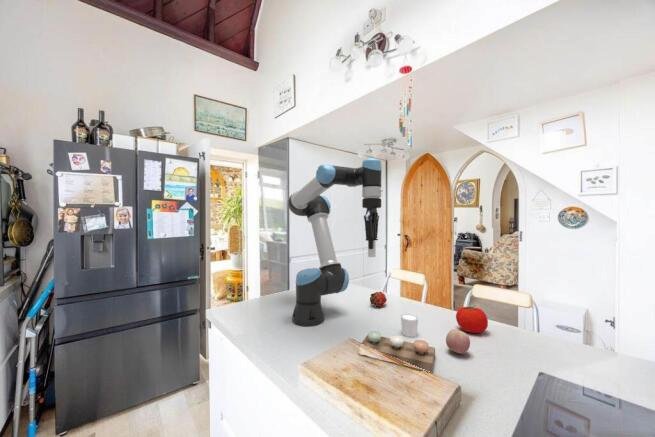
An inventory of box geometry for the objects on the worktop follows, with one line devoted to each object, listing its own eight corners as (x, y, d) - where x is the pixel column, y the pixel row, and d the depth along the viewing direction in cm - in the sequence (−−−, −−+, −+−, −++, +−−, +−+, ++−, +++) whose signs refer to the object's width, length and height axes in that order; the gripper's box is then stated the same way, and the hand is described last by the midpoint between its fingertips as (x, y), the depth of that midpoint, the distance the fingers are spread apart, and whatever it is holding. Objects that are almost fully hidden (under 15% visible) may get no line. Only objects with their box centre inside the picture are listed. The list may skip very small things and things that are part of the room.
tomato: (485, 328, 114) (486, 304, 114) (489, 339, 103) (489, 313, 103) (455, 323, 119) (455, 300, 119) (456, 333, 108) (456, 308, 108)
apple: (469, 361, 87) (469, 337, 87) (444, 355, 92) (444, 332, 92) (470, 351, 94) (470, 329, 94) (447, 345, 98) (447, 324, 98)
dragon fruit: (371, 312, 138) (381, 309, 147) (384, 304, 134) (393, 302, 143) (363, 297, 141) (374, 295, 151) (376, 289, 138) (385, 288, 147)
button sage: (366, 350, 94) (366, 335, 94) (370, 344, 98) (370, 330, 98) (379, 353, 92) (379, 337, 92) (382, 347, 96) (382, 332, 96)
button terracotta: (412, 361, 87) (412, 344, 87) (414, 354, 91) (414, 339, 91) (427, 364, 84) (427, 347, 84) (429, 358, 89) (429, 341, 89)
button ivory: (388, 355, 90) (388, 339, 90) (391, 349, 94) (391, 334, 94) (402, 358, 88) (402, 342, 88) (404, 352, 92) (404, 337, 92)
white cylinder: (418, 331, 110) (418, 315, 110) (418, 338, 104) (418, 321, 104) (401, 329, 113) (401, 313, 112) (400, 336, 106) (400, 319, 106)
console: (358, 354, 92) (358, 346, 92) (368, 341, 102) (368, 333, 102) (432, 373, 81) (432, 363, 81) (435, 356, 91) (435, 347, 91)
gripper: (376, 196, 97) (376, 259, 97) (385, 198, 109) (385, 255, 109) (357, 197, 101) (357, 258, 101) (367, 199, 112) (367, 254, 112)
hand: (371, 256), depth 105 cm, fingers closed
